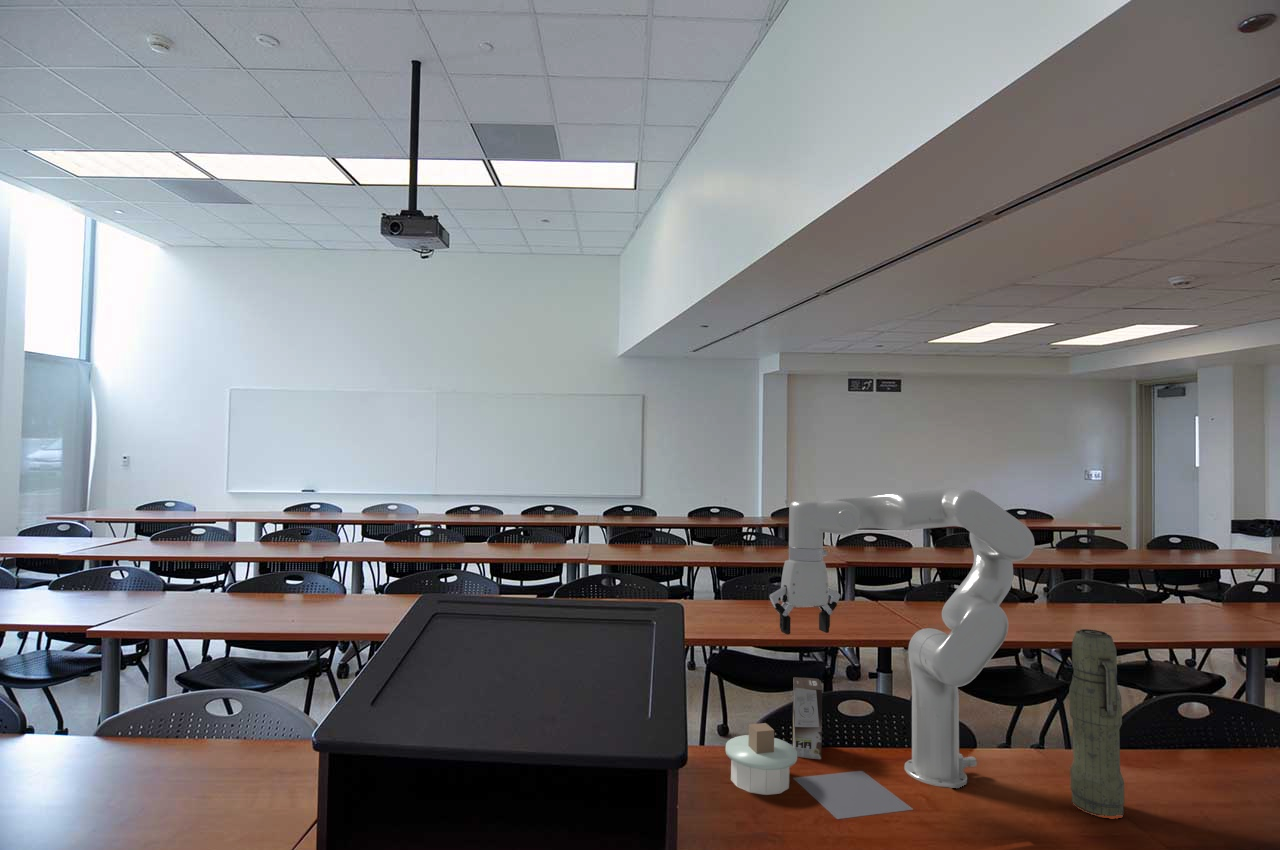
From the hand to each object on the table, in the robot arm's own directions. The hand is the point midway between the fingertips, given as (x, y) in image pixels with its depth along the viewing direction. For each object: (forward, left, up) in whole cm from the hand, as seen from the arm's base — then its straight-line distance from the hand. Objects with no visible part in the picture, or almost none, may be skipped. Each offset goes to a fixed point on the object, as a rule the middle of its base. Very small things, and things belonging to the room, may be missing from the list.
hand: (804, 632), depth 146 cm
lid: (+12, +3, -24) cm, 27 cm away
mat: (-4, +12, -30) cm, 33 cm away
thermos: (-51, +27, -31) cm, 65 cm away
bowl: (+12, +3, -30) cm, 33 cm away
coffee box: (-6, -9, -31) cm, 32 cm away
